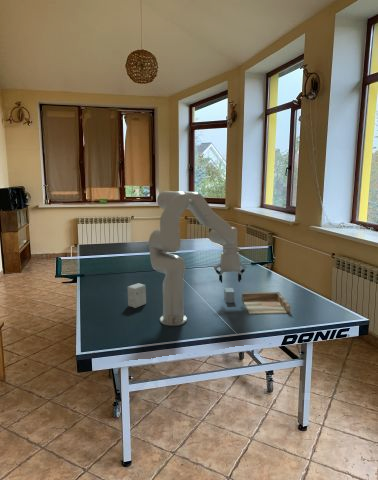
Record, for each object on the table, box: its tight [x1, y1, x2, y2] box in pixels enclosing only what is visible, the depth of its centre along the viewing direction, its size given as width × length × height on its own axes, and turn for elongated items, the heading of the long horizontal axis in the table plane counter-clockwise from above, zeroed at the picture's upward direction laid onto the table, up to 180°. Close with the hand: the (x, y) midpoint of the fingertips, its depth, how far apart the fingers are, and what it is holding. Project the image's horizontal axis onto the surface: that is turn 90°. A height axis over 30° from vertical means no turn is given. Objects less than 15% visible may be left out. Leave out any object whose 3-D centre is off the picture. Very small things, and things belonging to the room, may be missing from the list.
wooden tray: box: [241, 291, 291, 315], centre depth 193 cm, size 20×20×4 cm
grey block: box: [223, 287, 235, 304], centre depth 202 cm, size 7×4×6 cm, turn 2°
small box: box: [126, 282, 147, 309], centre depth 196 cm, size 8×6×10 cm
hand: (230, 281), depth 201 cm, fingers open, 9 cm apart
